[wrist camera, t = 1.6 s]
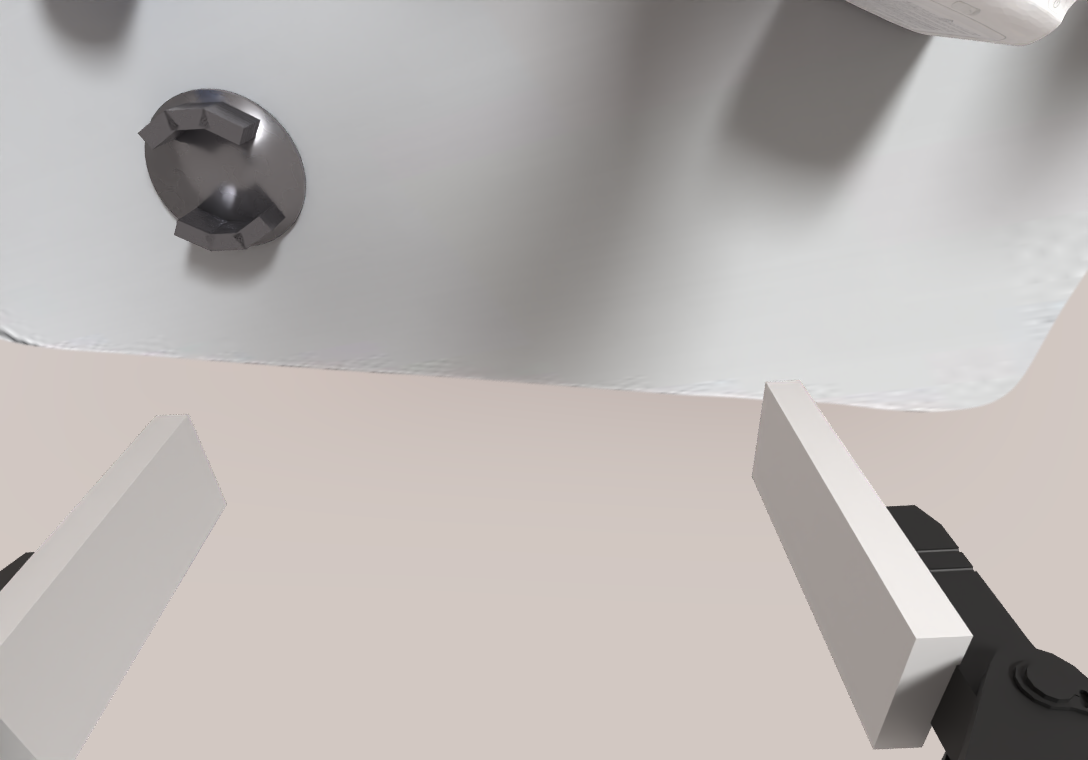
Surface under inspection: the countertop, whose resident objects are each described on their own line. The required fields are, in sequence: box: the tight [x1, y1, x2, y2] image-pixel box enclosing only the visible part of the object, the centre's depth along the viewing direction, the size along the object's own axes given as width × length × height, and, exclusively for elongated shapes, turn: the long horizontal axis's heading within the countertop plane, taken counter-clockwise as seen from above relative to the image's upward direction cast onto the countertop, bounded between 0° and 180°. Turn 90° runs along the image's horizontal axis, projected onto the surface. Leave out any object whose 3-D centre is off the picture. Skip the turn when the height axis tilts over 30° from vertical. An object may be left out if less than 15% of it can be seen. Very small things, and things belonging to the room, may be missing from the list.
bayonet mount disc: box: [138, 89, 306, 251], centre depth 45 cm, size 11×11×4 cm
